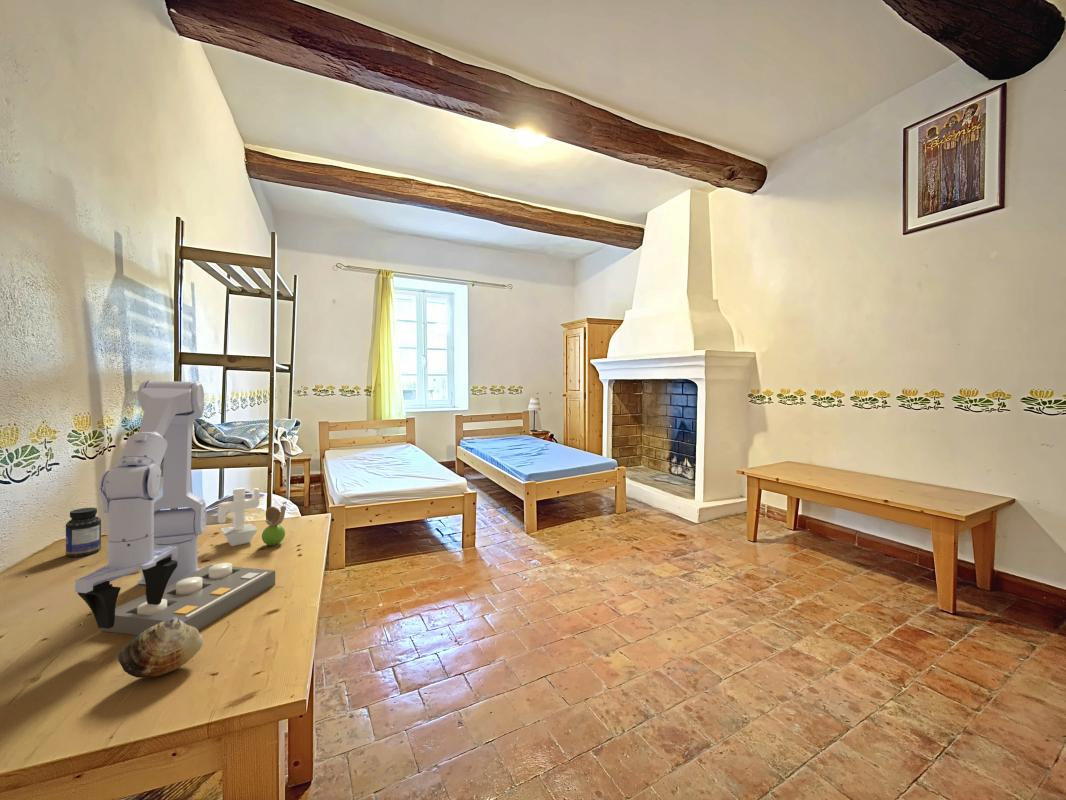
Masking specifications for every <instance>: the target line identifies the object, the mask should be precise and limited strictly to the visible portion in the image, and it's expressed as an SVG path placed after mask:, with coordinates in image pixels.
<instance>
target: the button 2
mask: <svg viewBox="0 0 1066 800" xmlns="http://www.w3.org/2000/svg"><path fill="white" fill-rule="evenodd" d="M212 565H213V566H211V567H210V568H209V579H218V580H221V579H223V578H225V577H227V576H229V575H231V574H232V567H233V563H231V562H222V563H221V562H220V563H218V564H212Z"/></svg>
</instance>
